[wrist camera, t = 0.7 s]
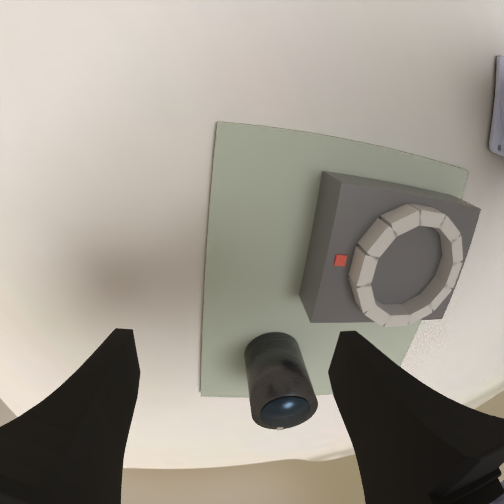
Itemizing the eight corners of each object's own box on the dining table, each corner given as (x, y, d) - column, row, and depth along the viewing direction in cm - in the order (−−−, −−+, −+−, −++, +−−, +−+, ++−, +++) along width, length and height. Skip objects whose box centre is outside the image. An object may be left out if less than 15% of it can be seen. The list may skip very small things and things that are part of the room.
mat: (463, 169, 18) (468, 170, 18) (387, 383, 26) (389, 387, 26) (217, 121, 16) (217, 121, 16) (200, 391, 24) (200, 396, 24)
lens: (304, 331, 22) (326, 390, 17) (293, 372, 23) (309, 429, 18) (247, 331, 21) (256, 393, 16) (241, 372, 23) (248, 432, 18)
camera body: (453, 195, 19) (492, 215, 15) (421, 296, 22) (450, 328, 18) (322, 170, 17) (351, 188, 13) (298, 295, 20) (315, 335, 17)
